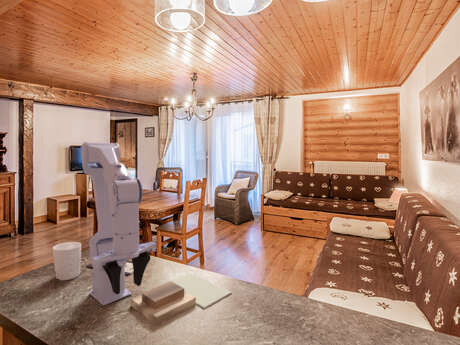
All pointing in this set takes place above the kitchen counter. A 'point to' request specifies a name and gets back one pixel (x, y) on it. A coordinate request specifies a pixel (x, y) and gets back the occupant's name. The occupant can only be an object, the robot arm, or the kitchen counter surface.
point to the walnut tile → (162, 295)
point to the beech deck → (163, 308)
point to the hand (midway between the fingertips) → (127, 288)
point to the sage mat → (201, 290)
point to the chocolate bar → (127, 267)
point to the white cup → (67, 260)
